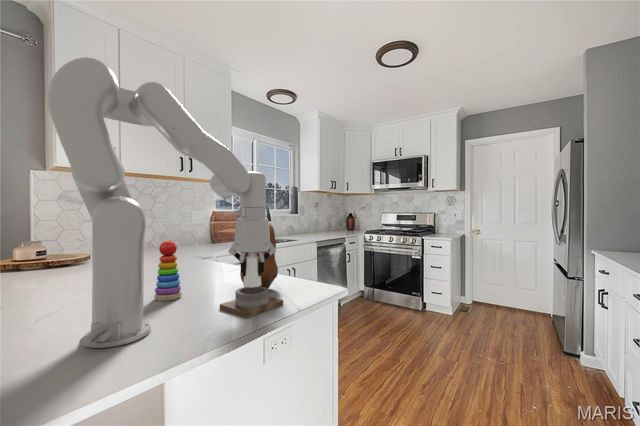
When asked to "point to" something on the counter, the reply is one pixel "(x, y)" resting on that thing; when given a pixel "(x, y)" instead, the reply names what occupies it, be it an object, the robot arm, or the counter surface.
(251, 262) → the pepper shaker
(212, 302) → the counter surface
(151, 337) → the counter surface
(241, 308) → the shaft housing
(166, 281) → the stacking toy
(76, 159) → the robot arm
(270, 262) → the butternut squash
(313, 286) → the counter surface
